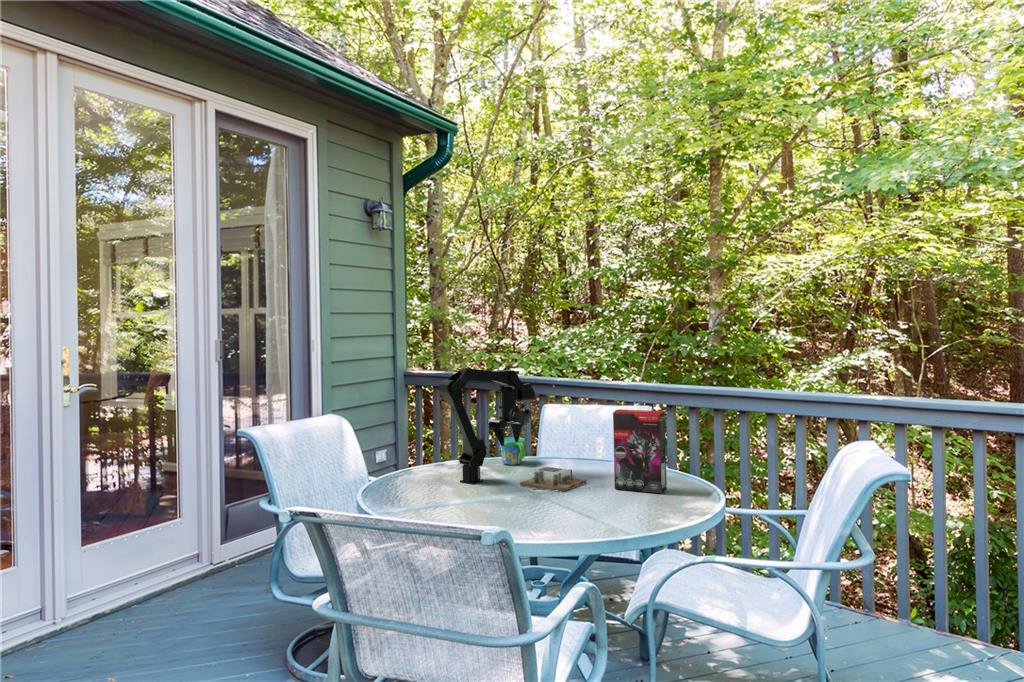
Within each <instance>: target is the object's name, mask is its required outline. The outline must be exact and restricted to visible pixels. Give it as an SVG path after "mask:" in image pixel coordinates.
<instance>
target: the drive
mask: <svg viewBox="0 0 1024 682" xmlns="http://www.w3.org/2000/svg"><path fill="white" fill-rule="evenodd" d="M569 469H570V468H569ZM569 469H568V468H560V467H553V466H542V467H539V468H537V469H534V472H539V481H540V482H547V483H553V475H555V474H556V475H558V484H564V483H566V482H569V481H571V470H572V469H571V470H569Z"/></svg>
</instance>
